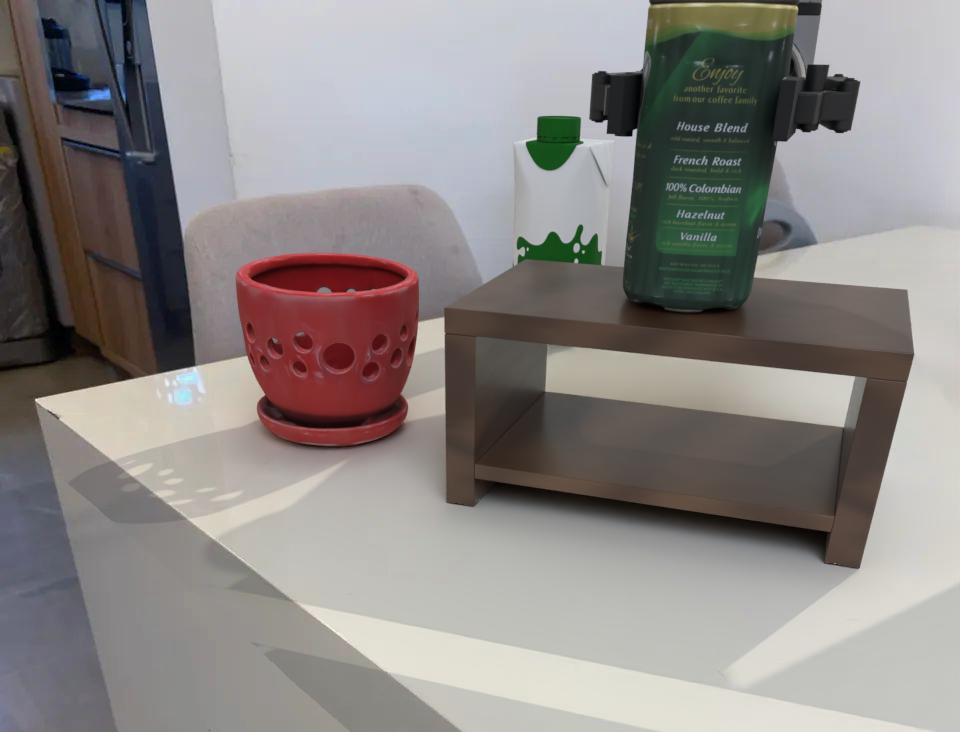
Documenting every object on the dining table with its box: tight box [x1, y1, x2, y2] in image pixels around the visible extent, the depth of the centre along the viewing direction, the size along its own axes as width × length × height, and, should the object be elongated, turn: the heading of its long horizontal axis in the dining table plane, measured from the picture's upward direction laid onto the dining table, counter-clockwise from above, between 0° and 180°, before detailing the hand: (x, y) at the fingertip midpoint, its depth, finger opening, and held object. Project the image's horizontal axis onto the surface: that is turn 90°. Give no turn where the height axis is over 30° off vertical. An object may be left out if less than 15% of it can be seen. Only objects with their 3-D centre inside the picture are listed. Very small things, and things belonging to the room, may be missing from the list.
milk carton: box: [512, 115, 616, 267], centre depth 93 cm, size 9×9×20 cm
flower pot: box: [235, 252, 420, 447], centre depth 71 cm, size 13×13×12 cm
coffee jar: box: [623, 0, 799, 313], centre depth 53 cm, size 10×8×19 cm
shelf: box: [443, 259, 915, 569], centre depth 62 cm, size 26×16×12 cm, turn 70°
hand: (697, 108), depth 49 cm, fingers closed on coffee jar, 8 cm apart
